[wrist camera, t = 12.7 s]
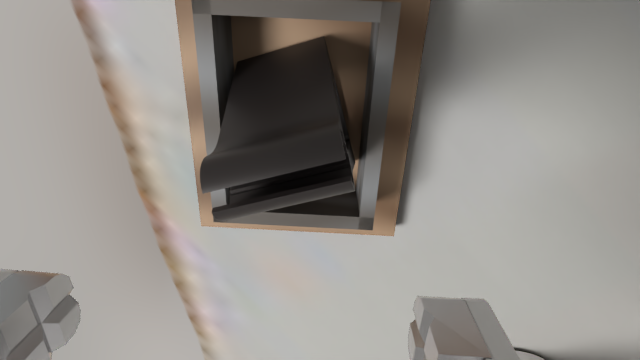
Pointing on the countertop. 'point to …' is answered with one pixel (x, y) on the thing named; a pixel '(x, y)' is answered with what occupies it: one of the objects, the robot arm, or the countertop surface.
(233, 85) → the phone stand
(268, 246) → the countertop surface
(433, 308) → the robot arm
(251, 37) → the socket board
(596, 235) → the countertop surface
